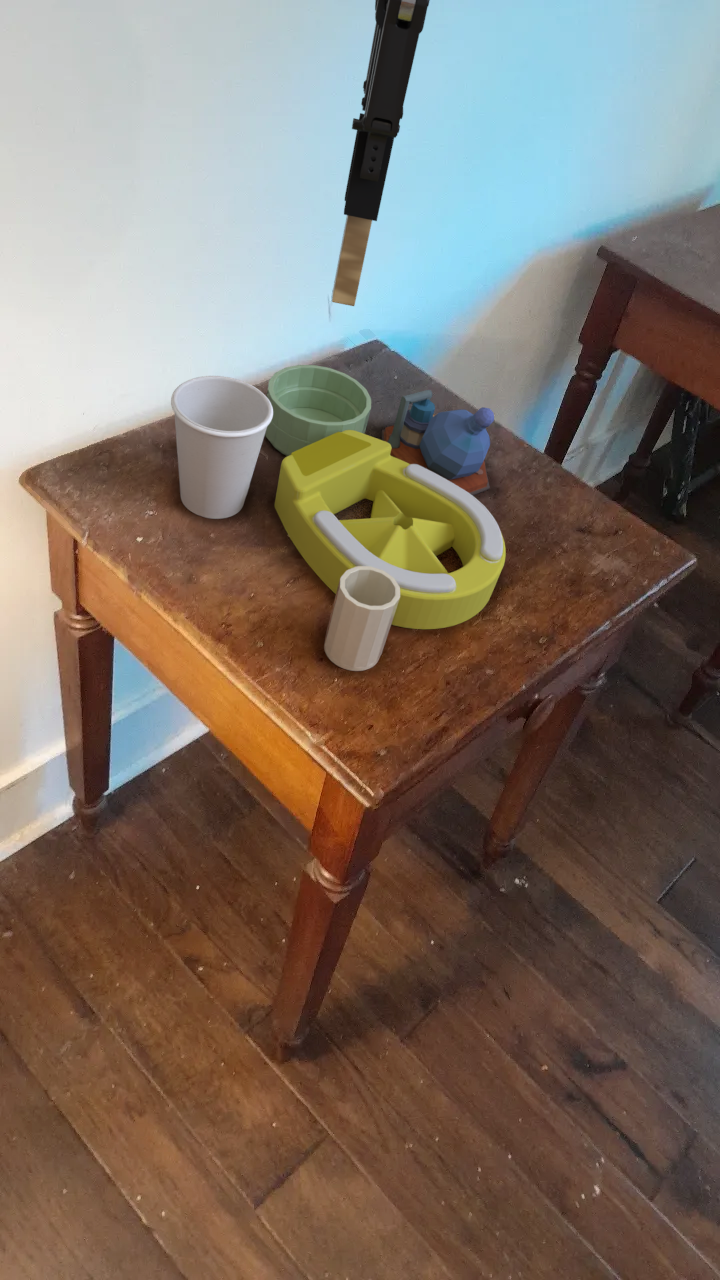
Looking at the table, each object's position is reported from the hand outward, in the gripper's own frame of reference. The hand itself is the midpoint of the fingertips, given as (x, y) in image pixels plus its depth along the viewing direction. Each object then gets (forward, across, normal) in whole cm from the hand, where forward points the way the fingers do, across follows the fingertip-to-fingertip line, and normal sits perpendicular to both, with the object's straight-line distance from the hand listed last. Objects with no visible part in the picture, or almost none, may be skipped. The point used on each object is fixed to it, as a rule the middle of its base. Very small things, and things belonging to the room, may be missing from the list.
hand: (360, 208), depth 77 cm
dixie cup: (+23, -11, +9) cm, 27 cm away
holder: (+23, -27, -4) cm, 36 cm away
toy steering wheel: (+23, -14, -7) cm, 28 cm away
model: (+23, 0, -12) cm, 26 cm away
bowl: (+23, +1, 0) cm, 23 cm away
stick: (+8, 0, 0) cm, 8 cm away
